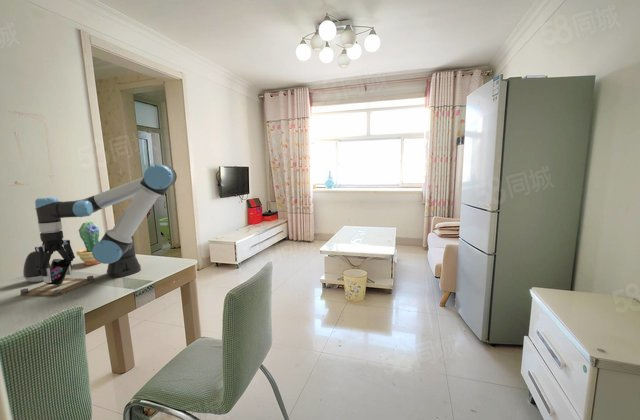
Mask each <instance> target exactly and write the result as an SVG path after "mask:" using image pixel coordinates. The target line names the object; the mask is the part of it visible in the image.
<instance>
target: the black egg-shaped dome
mask: <svg viewBox="0 0 640 420" xmlns="http://www.w3.org/2000/svg"><path fill="white" fill-rule="evenodd" d="M35 258H36V251H35V250H34V251H31V252H29V253H28V254H27V256H26V258H25V260H24V264H23V271H22V276H23V277H24V279H25V280H26V281H27V282H29V283H41V282H44V277H43V276H42V275H41V270H40V269H35ZM50 265H51V262H49V264H48V267H47V268H50Z"/></svg>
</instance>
